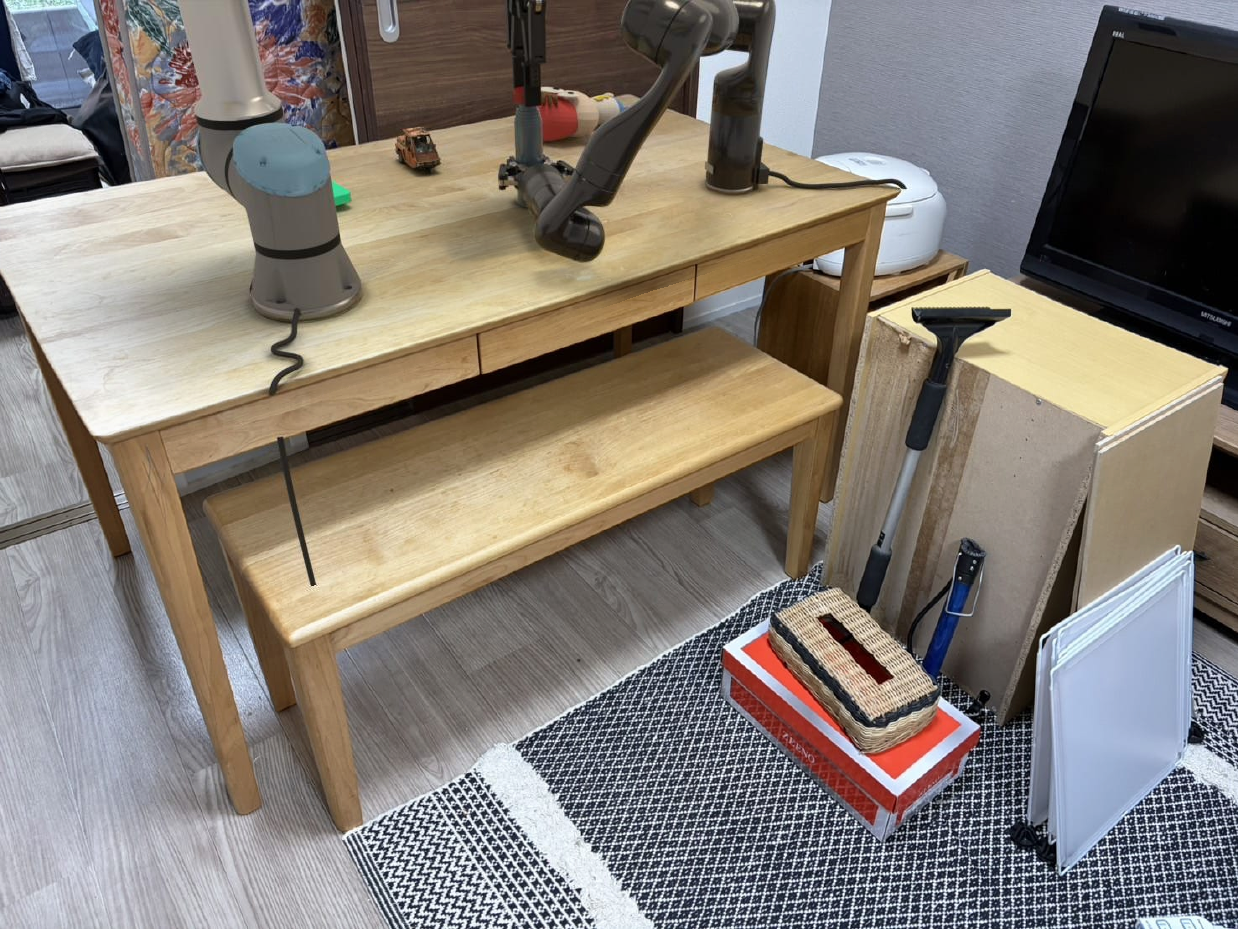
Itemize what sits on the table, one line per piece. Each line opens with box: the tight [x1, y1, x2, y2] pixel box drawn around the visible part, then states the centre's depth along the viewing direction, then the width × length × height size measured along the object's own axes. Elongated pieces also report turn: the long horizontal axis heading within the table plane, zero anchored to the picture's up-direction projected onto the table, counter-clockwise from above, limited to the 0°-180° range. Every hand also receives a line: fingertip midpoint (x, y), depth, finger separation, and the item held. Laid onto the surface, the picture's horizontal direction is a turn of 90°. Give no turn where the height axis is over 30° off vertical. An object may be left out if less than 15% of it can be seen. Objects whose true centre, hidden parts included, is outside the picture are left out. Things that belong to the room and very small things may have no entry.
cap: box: [512, 86, 542, 105], centre depth 156 cm, size 5×5×2 cm
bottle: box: [513, 104, 544, 208], centre depth 161 cm, size 5×5×19 cm
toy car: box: [394, 126, 442, 174], centre depth 178 cm, size 6×12×7 cm, turn 39°
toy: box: [538, 86, 629, 142], centre depth 199 cm, size 18×10×30 cm
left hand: (527, 101), depth 156 cm, fingers closed on cap, 4 cm apart
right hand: (526, 160), depth 165 cm, fingers closed on bottle, 5 cm apart
